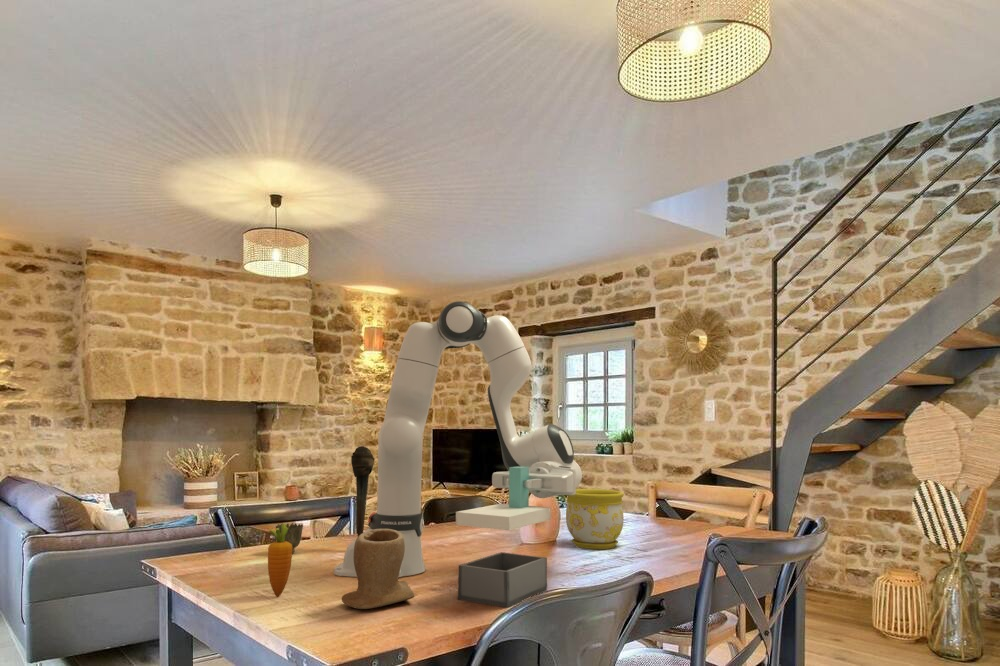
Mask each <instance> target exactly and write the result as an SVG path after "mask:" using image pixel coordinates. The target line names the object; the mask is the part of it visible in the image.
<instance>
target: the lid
mask: <svg viewBox="0 0 1000 666" xmlns="http://www.w3.org/2000/svg"><path fill="white" fill-rule="evenodd" d="M523 480H529V467H509V488H508V503H498V504H496V503H495V504H493V505H486V506H483V507H482V506H480V507H476V508H471V509H465V510H459V511H455V525H456V526H464V527H465V526H466V527H471V528H472V527H473V528H482V529H491V530H492V529H493V530H499V531H500V530H502V531H511V530H515V529H519V528H524V527H528V526H531V525H534V524H539V523H543V522H547V521H551V519H552V518H551V517H552V515H551V507H548V506H536V505H530V503H529V502H530V501H529V500H530V499H529V498H530V491H529V488H523Z"/></svg>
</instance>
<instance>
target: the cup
mask: <svg viewBox="0 0 1000 666" xmlns="http://www.w3.org/2000/svg"><path fill="white" fill-rule="evenodd" d="M282 524H284V523H280V524H279V523H277V525H275V529H276V528H279V530H280V533H282V530H281V525H282ZM286 527H287V528H288V531H287V533H286V535H285V539H284V541H287V542H289V543H291V544H292V555H293V554H294V553H295V552H296V550H295V548H297V547H298V546H299V545H300V542H301V539H302V534H303V528H304V524H303V523H301V524H300V523H298V524H297V523H290V524H289V523H286ZM275 532H276V531H275ZM276 533H277V532H276Z"/></svg>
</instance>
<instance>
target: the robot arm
mask: <svg viewBox="0 0 1000 666" xmlns="http://www.w3.org/2000/svg"><path fill="white" fill-rule="evenodd" d="M438 316H439V317H438V319H437V320H436V321H435V322H427V321H420V322H414V323H412V324H411V325H410V326H409V327H408V329H407V331H406V332H405V335H404V337H403V340H402V343H401V346H400V349H399V352H398V356H397V360H396V364H395V368H394V372H393V373H394V374H393V376H392V381H391V385H390V388H389V389H390V390H389V394H388V399H387V404H386V409H385V414H384V418H383V422H382V423H383V424H382V425H381V426H380V427H379V432H378V436H377V437H378V439H377V440H378V443H377V447H378V448H377V498H376V500H377V501H376V512H372V513H370V514H369V516H368V521H367V523H368V526H367V527H369V528H367V529H366V530H365V531H363V533H367V532H369V531H371V530H374V529H392V530H396V531H398V532H400V533H401V534H402V535H403V538H404V543H405V552H404V557H403V561H402V564H401V568H400V572H399V577H398V578H401V577H408V576H414V575H418V574H421V573H424V572H425V571H426V567H425V562H424V556H423V549H422V548H423V547H422V538H421V537H422V533H423V522H424V521H423V513H422V512H421V510H422V509H421V508H422V507H421V506H422V474H423V472H422V471H423V446H424V444H423V443H424V433H425V428H426V424H427V420H428V415H429V411H430V407H431V402H432V399H433V398H432V397H433V394H434V391H435V390H434V389H435V386H436V381H437V376H438V373H439V368H440V363H441V358H442V355H443V353H444V350H447V349H459V348H460V349H461V348H464V347H468V346H469V345H470V344H472V345H474V346H476V347H478V349H479V351H481V353H482V355H483V357H484V359H485V362H486V364H487V366H488V369H489V375H490V383H489V386H488V387H487V397H488V402H489V407H490V410H491V413H492V417H493V421H494V425H495V429H496V431H497V435H498V439H499V442H500V448H501V455H502V457H501V458H502V461H503V465H504V466H505V468H506V470H507V471H496V472H495V471H494V472H493V473H492V475H491V483H492V487H493V488H496V489H497V488H498V489H509V467H529V480H523V488H529V493H530V494H531V495H533V496H534V497H536V498H539V499H548V498H554V497H558V496H560V497H561V496H567V495H575V494H576V489H578V487H579V485H580V484H581V482H582V479H583V471H582V468H581V466H580V465H579V464H578V463H577V462H576V461H575V459H574V457H575V453H574V452H575V451H574V446H573V443H572V440H571V438H570V436H569V435H568V433H567V432H566V431H565V430H564V429H562V428H561V426H558V425H556V424H554V423H549V424H547V425H544V426H542V427H540V428H537V429H535V430H533V431H531V432H528V433H526V434H524V435H522V436H520V435H519V434H518V431H517V427H516V424H515V420H514V418H513V413H512V411H511V403H512V400H513V398H514V397H515V395H516V394H517V392H518V391H519V390H520V389H521V388H522V387H523V386H524V385H525V384H526V382H527V381H528V378H529V377H530V374H531V372H532V361H531V358H530V355H529V353H528V351H527V348H526V347H525V344H524V342H523V340H522V338H521V336H520V335H519V333H518V331H517V330H516V327H515V326H514V325H513V323H512V322H511V321H510V319H509V318H507V317H506V316H504V315H500V314H499V315H498V314H496V315H491V316H489V317H487V316H486V314H484V313H483V312H482V311H480V310H478V309H477V308H476V307H475V306H473V305H472V304H470V303H469V302H466V301H463V300H461V301H459V300H458V301H453V302H450V303H448V304H446V306H444V307H443V309H442V310H441V311H440V314H439V315H438ZM356 539H357V537H356V538H354V540H352V541H351V542H350V543H349V544H348V545H347V547H346V550H345V552H344V557H343V561H342V562H340V563H338V564H337V565H335V567H334V569H333V574H334V575H335V576H341V577H356V578H357V574H356V571H355V566H354V559H353V557H354V546H355V541H356Z"/></svg>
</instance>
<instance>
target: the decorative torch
mask: <svg viewBox="0 0 1000 666" xmlns="http://www.w3.org/2000/svg"><path fill="white" fill-rule="evenodd" d="M350 458H351V459H350V461H351V466H352V473H353V477H354V478H356V479H355V480H356V482H355V484H356V488H355V489H356V524H357V525H356V526H357V528H356V529H357V537H358V536H359V535H360V534H362V533H364V528H365V519H366V518H365V517H366V508H367V507H366V506H367V498H368V496H367V495H368V486H369V476H370V475H371V473H372V471H373V468H374V464H375V458H374V456H373V454H372V451H371V450H370V449H369V448H368V447H366V446H362V445H361V446H358V447H357V448H355V450H354V452H352V455H351V457H350Z"/></svg>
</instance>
